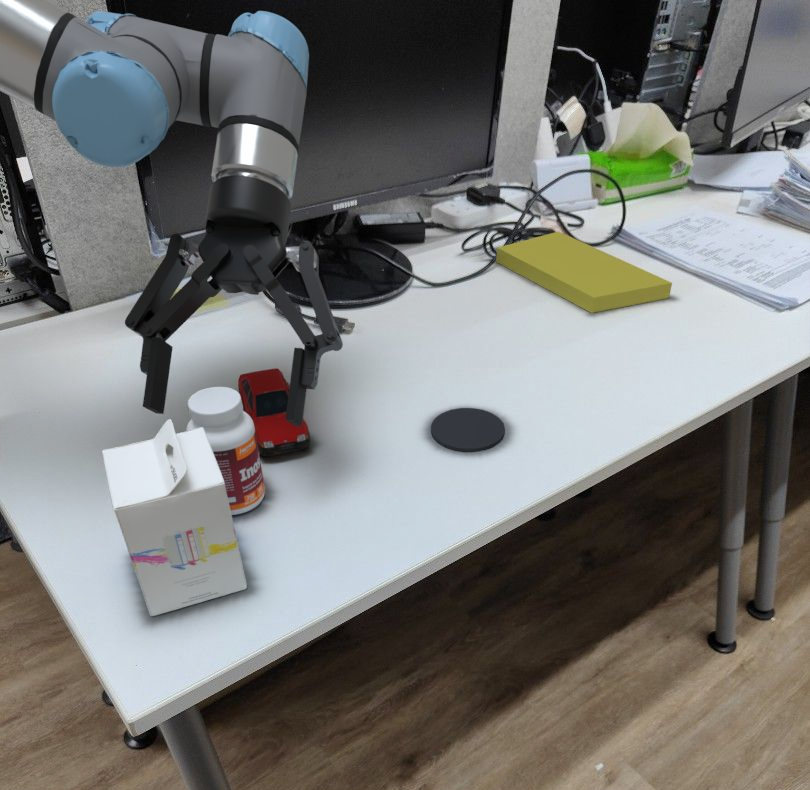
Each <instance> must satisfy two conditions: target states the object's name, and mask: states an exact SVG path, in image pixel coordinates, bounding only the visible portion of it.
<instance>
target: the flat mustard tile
mask: <svg viewBox="0 0 810 790" xmlns="http://www.w3.org/2000/svg"><path fill="white" fill-rule="evenodd" d="M495 261H496V263H497V264H499V265H501V266H503V267H505V268H507V269H508V270H510V271H512V272H514V273H516V274H518V275H520V276H522V277H524V278H525V279H527V280H529V281H531V282H533V283H535V284H537V285H539V286H540V287H542V288H544V289H546V290H548V291H550V292H551V293H554V294H555V295H557V296H559V297H561V298H563V299H564V300H566V301H568V302H570V303H572V304H574V305H576V306H578V307H579V308H582V309H583V310H585V311H587V312H589V313H591V314H593V313H599V312H604V311H609V310H615V309H619V308H625V307H629V306H636V305H640V304H645V303H651V302H655V301H660V300H661V301H662V300H666V299H670V295H671V290H672V286H673V282H671V281H669V280H668V279H667V280H666V279H665V278H663V277H660V276H658V275H656V274H655V273H654V274H653V273H652V272H649V271H647V270H645V269H643V268H640V267H638V266H636V265H634V264H632V263H629V262H627V261H625V260H623V259H620V258H618V257H616V256H614V255H612V254H610V253H607V252H605V251H603V250H601V249H599V248H596V247H595V246H592V245H590V244H587V243H585V242H583V241H581V240H579V239H577V238H574V237H572V236H569V235H568V234H566V233H563V232H561V231H556V232H551V233H548V234H543V235H540V236H537V237H532V238H529V239H524V240H522V241H517V242H513V243H510V244H505V245H502V246H499V247H498V246H497V247H496V260H495Z"/></svg>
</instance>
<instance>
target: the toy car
mask: <svg viewBox="0 0 810 790" xmlns="http://www.w3.org/2000/svg"><path fill="white" fill-rule="evenodd" d="M289 387H290V383H289V382H288V381H287V380H286V377H285V375H284V373H283V372H282V371H281V370H280V369H279V368H277V367H275V368H269V369H262V370H257V371H251V372H246V373H243V374H240V375H239V376H238V379H237V389H238V393H239V394H240V396H241V400H242V404H243V411H244V412H246V413H247V414H248V415H249V416H250V417H251V419H252V420H253V423H254V427H255V433H256V438H257V444H258V450H259V455H261V456H262V457H263V456H264V457H269V456H277V455H283V454H287V453H293V452H298V451H301V450H304V449H307V448H309V447H310V446H311V436H310V431H309V426H308V424H307V422H306V421H305V420H304V419H303V421H302V426H294V425H292V424H291V423H290V422H288V421H287V420H286V411H287V403H288V395H289Z"/></svg>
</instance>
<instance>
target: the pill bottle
mask: <svg viewBox="0 0 810 790" xmlns="http://www.w3.org/2000/svg"><path fill="white" fill-rule="evenodd" d="M187 407H188V414H189V417H190V420H189V422H188V423H187V425H186V429H185V431H189V430H193V429H197V428H200V427H203V428H204V430H205V433H206V435H207V438H208V440H209V443H210V445H211V448H212V451H213V453H214V456H215V458H216V461H217V463H218V466H219V469H220V471H221V474H222V476H223V479H224V482H225V488H226V493H227V497H228V502H229V506H230V510H231V515H232V516H234V515H235V516H236V515H240V514H244V513H247V512H249V511H252V510H254V509H255V508H256V507H257V506H259V505H260V504H261V503H262V501H263V499H264V496H265V494H266V487H265V481H264V475H263V469H262V468H263V467H262V462H261V457H260V454H259V450H258V444H257V438H256V433H255V427H254V423H253V420H252V419H251V417H250V416H249V415H248V414H247V413H246V412H244V411H243V404H242V400H241V396H240V394H239V391H237V390H236V389H234V388H231V387H229V386H228V387H227V386H211V387H207V388H203V389H200V390H197V391H196V392H194V393H193V394H191V396H190V397H189V398H188V400H187Z"/></svg>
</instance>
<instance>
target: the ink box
mask: <svg viewBox="0 0 810 790" xmlns="http://www.w3.org/2000/svg"><path fill="white" fill-rule="evenodd" d="M101 454H102V460H103V465H104V470H105V475H106V480H107V486H108V490H109V496H110V501H111V503H112V504H111V505H112V510H113V511H114V513H115V516H116V519H117V522H118V525H119V528H120V531H121V534H122V538H123V541H124V543H125V546H126V549H127V551H128V555H129V558H130V561H131V563H132V567H133V570H134V573H135V575H136V578H137V581H138V583H139V586H140V589H141V593H142V595H143V599H144V601H145V602H144V603H145V604H146V608H147V610H148V611H147V612H148V614H149V616H150V617H155V616H159V615H162V614H165V613H169V612H174V611H176V610H180V609H183V608H186V607H189V606H193V605H196V604H200V603H203V602H207V601H209V600H213V599H217V598H220V597H224V596H227V595H231V594H233V593H237V592H242V591H244V590H246V589H247V588H248V582H247V578H246V574H245V572H244V564H243V560H242V555H241V552H240V546H239V543H238V538H237V533H236V529H235V525H234V519H233V515H231V510H230V506H229V502H228V497H227V493H226V488H225V482H224V479H223V476H222V474H221V471H220V469H219V466H218V463H217V461H216V458H215V456H214V453H213V451H212V448H211V445H210V443H209V440H208V438H207V435H206V433H205V430H204V428H203V427H200V428H197V429H193V430H189V431H186V430H185V431H181V432H178V433H176V430H175V425H174V423H173V420H172V419H171V418H169V419H166V421H165V422H164V423H163V424H162V426H161V428H160V429H159V430H158V432H157V434H155V436H154V437H153V438H151V439H147V440H146V439H145V440H142V441H137V442H132V443H127V444H124V445H120V446H116V447H111V448H105V449H103V450H102V451H101Z"/></svg>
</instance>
